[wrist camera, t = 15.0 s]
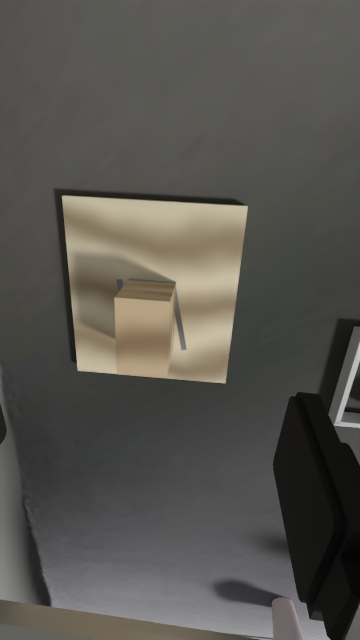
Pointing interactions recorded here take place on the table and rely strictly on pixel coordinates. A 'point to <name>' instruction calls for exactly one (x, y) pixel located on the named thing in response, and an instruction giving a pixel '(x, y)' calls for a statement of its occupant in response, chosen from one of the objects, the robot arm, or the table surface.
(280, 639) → the smoothie
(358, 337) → the parts frame
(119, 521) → the table surface
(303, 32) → the table surface
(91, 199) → the board
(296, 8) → the table surface
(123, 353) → the block
